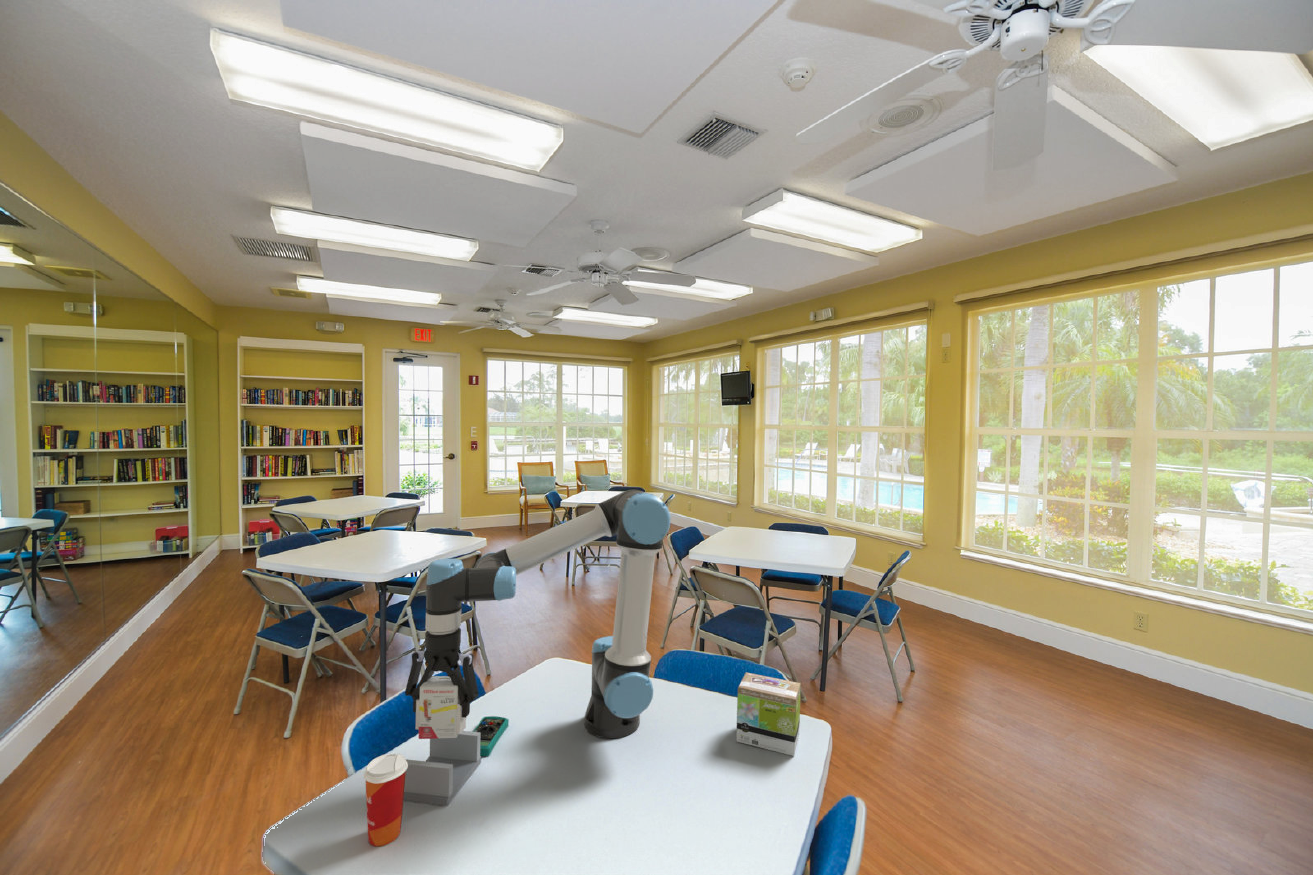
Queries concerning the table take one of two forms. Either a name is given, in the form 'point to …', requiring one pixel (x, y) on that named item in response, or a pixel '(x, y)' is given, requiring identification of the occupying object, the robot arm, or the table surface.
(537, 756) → the table surface
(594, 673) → the robot arm
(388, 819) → the paper cup
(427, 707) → the ink box
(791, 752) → the tea box
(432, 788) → the dock
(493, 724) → the digital multimeter
